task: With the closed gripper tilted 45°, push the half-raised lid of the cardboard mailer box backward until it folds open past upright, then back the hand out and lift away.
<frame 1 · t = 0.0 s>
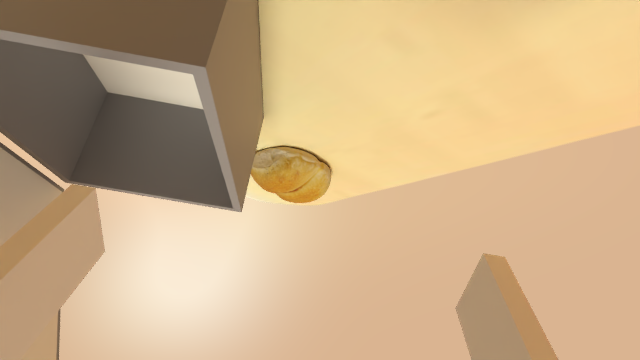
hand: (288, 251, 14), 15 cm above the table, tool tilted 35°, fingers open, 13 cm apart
mailer box: (157, 28, 27), on the table
bread roll: (293, 161, 44), on the table
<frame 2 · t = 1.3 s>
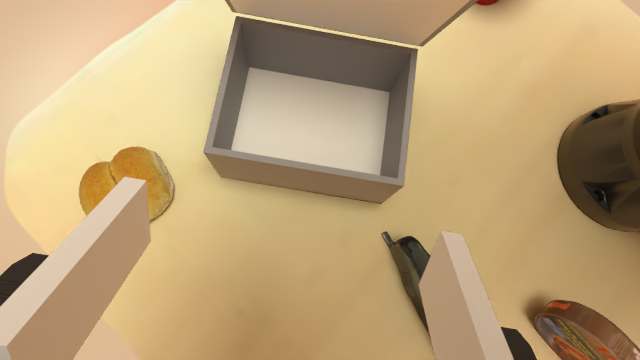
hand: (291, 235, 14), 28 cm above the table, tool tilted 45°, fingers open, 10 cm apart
mailer box: (311, 131, 45), on the table
mobile phone: (420, 293, 42), on the table
bread roll: (133, 190, 43), on the table
tin: (577, 357, 42), on the table
box lid: (332, 0, 31), point 16 cm above the table, hinge at 70.0°
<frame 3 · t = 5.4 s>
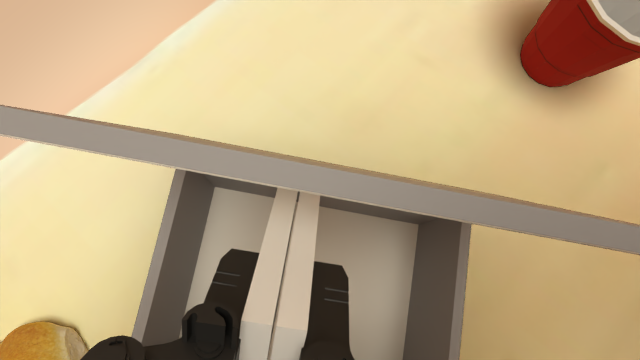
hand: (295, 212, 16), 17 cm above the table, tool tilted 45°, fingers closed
mailer box: (303, 286, 31), on the table
plastic cup: (546, 62, 37), on the table
box lid: (340, 175, 16), point 17 cm above the table, hinge at 74.3°, touching gripper
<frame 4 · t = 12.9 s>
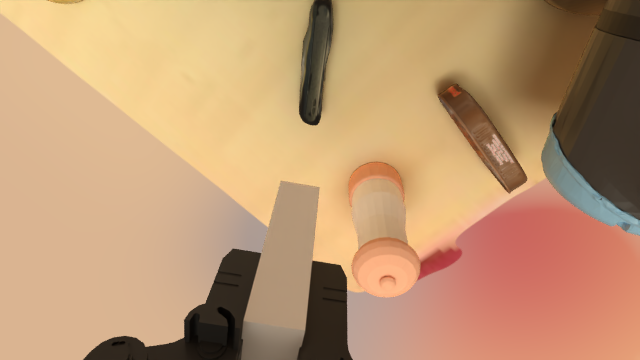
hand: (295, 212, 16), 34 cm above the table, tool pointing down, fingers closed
salt shaker: (374, 184, 55), on the table
mobile phone: (317, 51, 46), on the table
tin: (472, 124, 50), on the table
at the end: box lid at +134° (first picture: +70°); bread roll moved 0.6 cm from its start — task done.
